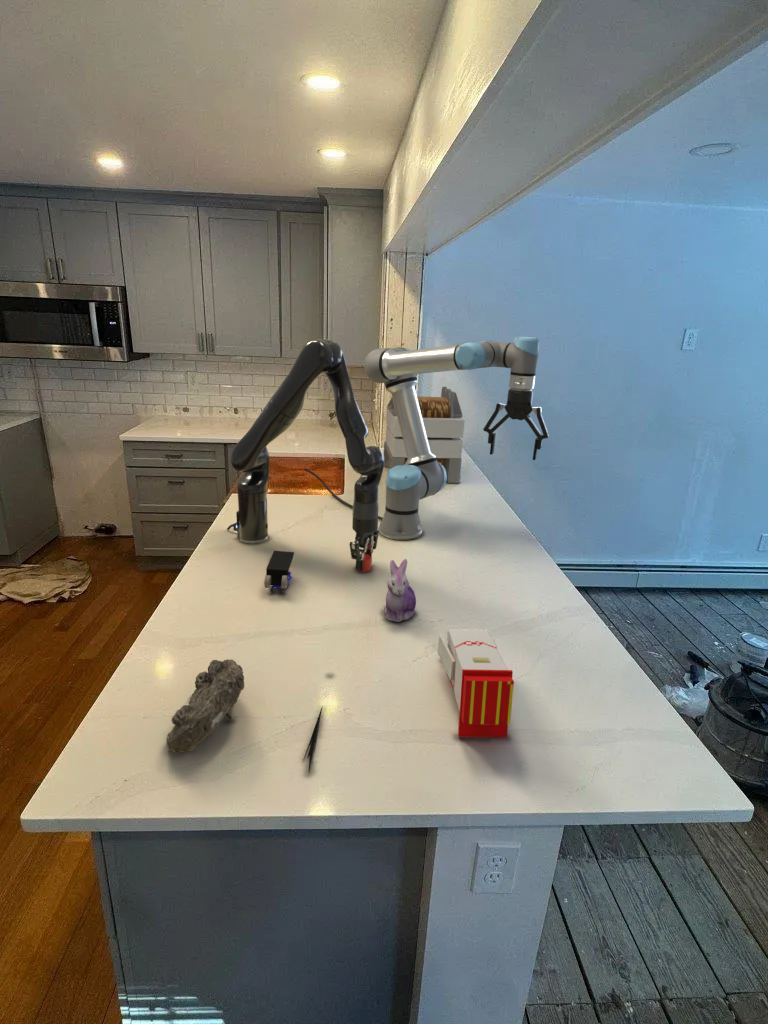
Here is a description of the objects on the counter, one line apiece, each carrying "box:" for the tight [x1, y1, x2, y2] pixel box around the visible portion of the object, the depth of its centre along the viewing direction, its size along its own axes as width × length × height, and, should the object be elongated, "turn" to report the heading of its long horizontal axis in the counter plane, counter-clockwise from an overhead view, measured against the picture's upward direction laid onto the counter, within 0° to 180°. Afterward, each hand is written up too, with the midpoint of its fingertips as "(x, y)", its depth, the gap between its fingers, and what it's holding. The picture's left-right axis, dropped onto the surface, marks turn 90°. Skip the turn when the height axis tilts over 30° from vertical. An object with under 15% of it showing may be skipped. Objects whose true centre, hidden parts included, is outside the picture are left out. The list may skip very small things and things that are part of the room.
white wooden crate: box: [383, 386, 465, 484], centre depth 268 cm, size 34×33×41 cm
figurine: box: [384, 558, 417, 623], centre depth 145 cm, size 9×10×15 cm
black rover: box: [264, 550, 295, 594], centre depth 159 cm, size 7×8×15 cm
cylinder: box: [359, 553, 373, 573], centre depth 171 cm, size 5×5×4 cm
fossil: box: [166, 658, 245, 754], centre depth 106 cm, size 22×10×15 cm
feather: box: [301, 673, 332, 771], centre depth 108 cm, size 2×28×2 cm
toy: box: [437, 628, 515, 738], centre depth 117 cm, size 12×13×30 cm
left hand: (363, 566), depth 172 cm, fingers closed on cylinder, 4 cm apart
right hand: (512, 456), depth 182 cm, fingers open, 13 cm apart
